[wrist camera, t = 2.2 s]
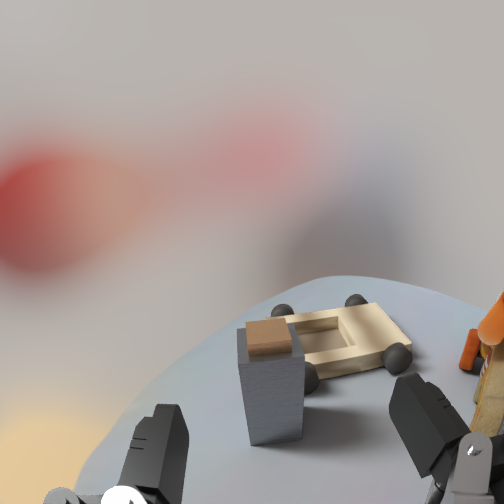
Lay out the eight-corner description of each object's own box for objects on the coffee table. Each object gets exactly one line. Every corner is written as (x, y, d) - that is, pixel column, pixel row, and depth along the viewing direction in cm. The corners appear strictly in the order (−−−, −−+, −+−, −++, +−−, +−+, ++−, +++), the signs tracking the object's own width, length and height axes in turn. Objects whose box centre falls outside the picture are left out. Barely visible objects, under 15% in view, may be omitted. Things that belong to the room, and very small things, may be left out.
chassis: (368, 310, 42) (370, 291, 41) (415, 368, 28) (421, 346, 27) (265, 325, 41) (263, 306, 40) (279, 397, 27) (278, 375, 26)
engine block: (293, 405, 26) (292, 312, 23) (301, 439, 22) (305, 344, 18) (248, 410, 26) (235, 318, 22) (250, 445, 21) (236, 352, 18)
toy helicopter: (513, 361, 23) (545, 257, 18) (483, 501, 9) (584, 373, 5) (463, 348, 28) (486, 245, 24) (405, 477, 15) (471, 347, 11)
